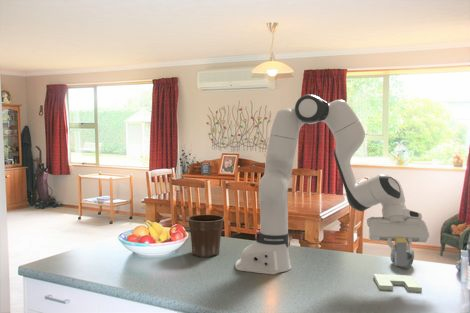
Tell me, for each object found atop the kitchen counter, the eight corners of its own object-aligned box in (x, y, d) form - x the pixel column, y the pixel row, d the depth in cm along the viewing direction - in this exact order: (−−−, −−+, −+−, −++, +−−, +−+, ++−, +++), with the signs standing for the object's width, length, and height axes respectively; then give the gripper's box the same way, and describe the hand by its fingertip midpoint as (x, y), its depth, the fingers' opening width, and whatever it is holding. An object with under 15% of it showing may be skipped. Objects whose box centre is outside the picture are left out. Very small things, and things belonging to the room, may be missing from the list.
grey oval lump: (418, 264, 167) (407, 240, 170) (395, 273, 170) (384, 249, 173) (420, 263, 179) (409, 240, 183) (398, 271, 182) (387, 248, 186)
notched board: (379, 289, 150) (379, 285, 150) (373, 277, 162) (373, 273, 162) (421, 291, 148) (421, 287, 148) (412, 279, 160) (412, 275, 160)
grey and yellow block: (396, 265, 150) (397, 239, 149) (394, 262, 153) (395, 237, 152) (406, 265, 149) (406, 240, 149) (403, 262, 152) (404, 237, 152)
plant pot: (187, 248, 199) (187, 214, 198) (222, 247, 201) (222, 213, 200) (187, 259, 183) (187, 221, 182) (225, 258, 185) (225, 221, 184)
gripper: (367, 212, 158) (371, 245, 149) (426, 213, 155) (433, 247, 146) (365, 221, 163) (368, 254, 154) (422, 223, 160) (429, 256, 151)
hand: (400, 251), depth 150 cm, fingers closed on grey and yellow block, 3 cm apart
